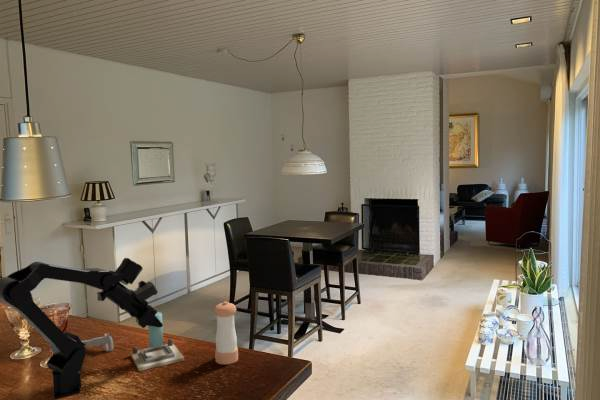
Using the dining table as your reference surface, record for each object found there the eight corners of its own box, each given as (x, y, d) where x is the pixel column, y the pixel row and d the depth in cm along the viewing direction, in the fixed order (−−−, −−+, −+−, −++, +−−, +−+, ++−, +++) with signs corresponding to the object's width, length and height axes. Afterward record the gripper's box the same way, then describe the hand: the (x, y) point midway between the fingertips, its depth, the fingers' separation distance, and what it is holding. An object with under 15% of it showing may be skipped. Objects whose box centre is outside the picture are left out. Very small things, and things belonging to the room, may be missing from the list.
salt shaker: (222, 366, 145) (220, 307, 143) (211, 358, 151) (209, 301, 149) (242, 359, 150) (241, 301, 148) (230, 352, 155) (229, 296, 153)
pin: (150, 348, 148) (149, 317, 147) (147, 343, 152) (146, 313, 151) (164, 345, 150) (163, 315, 149) (161, 340, 154) (160, 311, 153)
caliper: (113, 350, 158) (112, 333, 157) (112, 352, 157) (111, 334, 156) (60, 346, 162) (59, 329, 161) (58, 348, 161) (57, 330, 160)
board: (138, 371, 143) (138, 361, 142) (130, 355, 154) (130, 346, 154) (184, 360, 150) (183, 351, 149) (173, 345, 161) (172, 337, 161)
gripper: (148, 282, 139) (186, 311, 146) (133, 269, 154) (167, 296, 162) (122, 313, 135) (161, 341, 143) (109, 297, 151) (145, 323, 158)
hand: (159, 323), depth 151 cm, fingers closed on pin, 4 cm apart
